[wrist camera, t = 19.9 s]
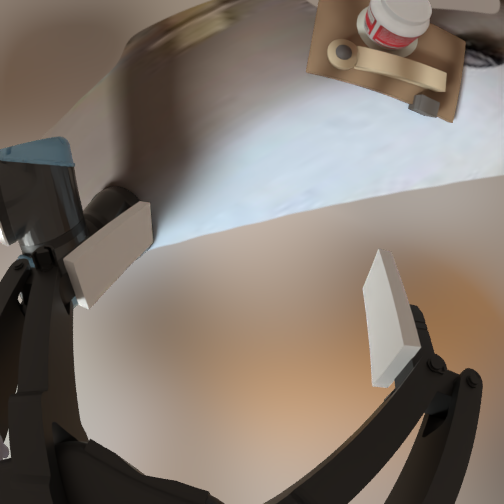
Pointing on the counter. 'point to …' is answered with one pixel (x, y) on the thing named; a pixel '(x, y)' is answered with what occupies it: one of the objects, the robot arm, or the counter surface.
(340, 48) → the leg bar
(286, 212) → the counter surface
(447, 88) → the board
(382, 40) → the pill bottle
